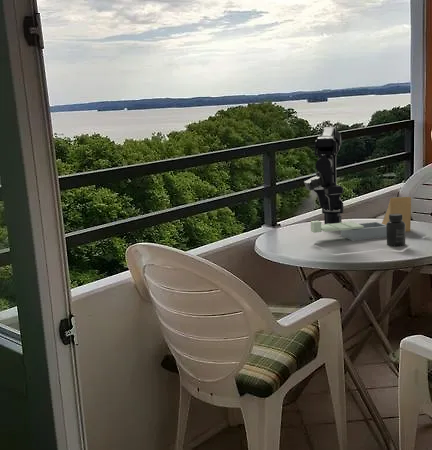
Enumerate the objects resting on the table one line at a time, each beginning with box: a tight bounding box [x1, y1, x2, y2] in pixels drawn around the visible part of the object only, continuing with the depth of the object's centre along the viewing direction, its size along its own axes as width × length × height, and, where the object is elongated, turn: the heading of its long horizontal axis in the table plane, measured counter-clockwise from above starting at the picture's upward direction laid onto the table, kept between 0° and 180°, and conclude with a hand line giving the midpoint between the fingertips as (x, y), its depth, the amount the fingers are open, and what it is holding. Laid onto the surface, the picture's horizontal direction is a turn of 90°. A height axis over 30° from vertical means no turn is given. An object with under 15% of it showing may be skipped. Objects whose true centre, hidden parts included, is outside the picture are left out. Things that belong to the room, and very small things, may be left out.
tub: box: [340, 221, 387, 242], centre depth 256 cm, size 16×10×5 cm, turn 105°
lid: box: [310, 220, 364, 234], centre depth 253 cm, size 19×10×4 cm, turn 105°
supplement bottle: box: [386, 214, 406, 248], centre depth 239 cm, size 7×7×12 cm
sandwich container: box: [381, 196, 412, 233], centre depth 268 cm, size 9×15×15 cm, turn 1°
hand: (326, 208), depth 253 cm, fingers open, 9 cm apart
